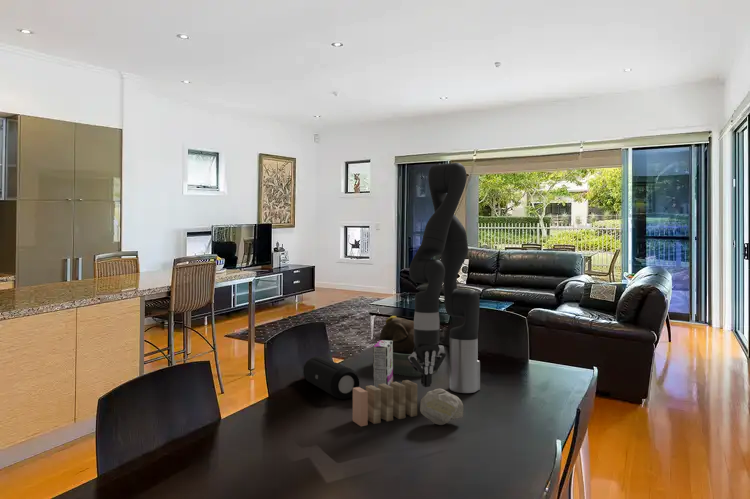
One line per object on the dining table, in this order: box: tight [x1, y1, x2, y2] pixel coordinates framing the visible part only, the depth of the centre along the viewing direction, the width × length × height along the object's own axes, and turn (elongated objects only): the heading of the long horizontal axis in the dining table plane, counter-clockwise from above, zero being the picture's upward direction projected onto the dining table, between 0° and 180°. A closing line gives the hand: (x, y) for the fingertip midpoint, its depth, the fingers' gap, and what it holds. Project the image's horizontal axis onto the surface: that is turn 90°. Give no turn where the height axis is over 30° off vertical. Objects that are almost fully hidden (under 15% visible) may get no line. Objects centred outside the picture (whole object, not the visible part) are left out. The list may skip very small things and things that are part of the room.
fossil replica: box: [419, 388, 465, 426], centre depth 130 cm, size 12×8×10 cm
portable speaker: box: [302, 355, 360, 400], centre depth 163 cm, size 26×10×10 cm, turn 32°
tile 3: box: [378, 383, 394, 422], centre depth 136 cm, size 2×5×9 cm, turn 29°
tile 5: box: [352, 386, 369, 427], centre depth 132 cm, size 2×5×9 cm, turn 29°
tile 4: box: [365, 384, 382, 425], centre depth 134 cm, size 2×5×9 cm, turn 29°
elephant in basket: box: [378, 315, 441, 377], centre depth 187 cm, size 23×25×22 cm
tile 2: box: [390, 381, 406, 420], centre depth 138 cm, size 2×5×9 cm, turn 29°
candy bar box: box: [372, 340, 394, 388], centre depth 161 cm, size 11×5×16 cm, turn 168°
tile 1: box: [401, 379, 418, 418], centre depth 140 cm, size 2×5×9 cm, turn 29°
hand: (426, 386), depth 143 cm, fingers closed
